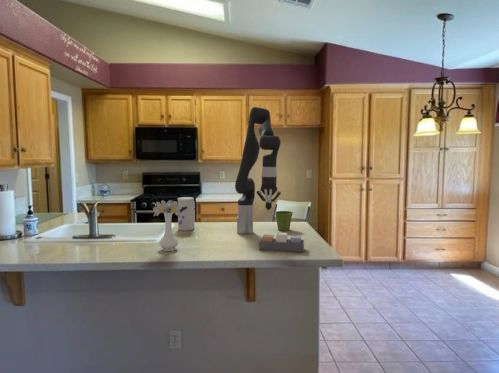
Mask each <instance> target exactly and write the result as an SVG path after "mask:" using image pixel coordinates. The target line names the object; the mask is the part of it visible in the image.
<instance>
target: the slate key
mask: <svg viewBox="0 0 499 373" xmlns="http://www.w3.org/2000/svg"><path fill="white" fill-rule="evenodd" d="M301 240H302V236H301V235H291V236H290V243H301Z"/></svg>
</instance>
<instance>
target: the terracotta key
mask: <svg viewBox="0 0 499 373" xmlns="http://www.w3.org/2000/svg"><path fill="white" fill-rule="evenodd" d="M274 236H275V235H274V234H263V235H262V237H261V238H262V241H265V242H274V239H275V238H274Z"/></svg>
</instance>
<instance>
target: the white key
mask: <svg viewBox="0 0 499 373" xmlns="http://www.w3.org/2000/svg"><path fill="white" fill-rule="evenodd" d="M275 236H276V237H275V239H276V242H285V243H287V239H288V232H276V235H275Z"/></svg>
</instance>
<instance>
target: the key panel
mask: <svg viewBox="0 0 499 373" xmlns="http://www.w3.org/2000/svg"><path fill="white" fill-rule="evenodd" d="M258 251H264V252H266V251H267V252H280V253H281V252H283V253H299V254H300V253H301V254H303V253H304V251H305V239H301V243H290V239H289V238H287V243H285V242H276V238H274V242H265V241H262V237H261V238H260V240H259V241H258Z"/></svg>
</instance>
